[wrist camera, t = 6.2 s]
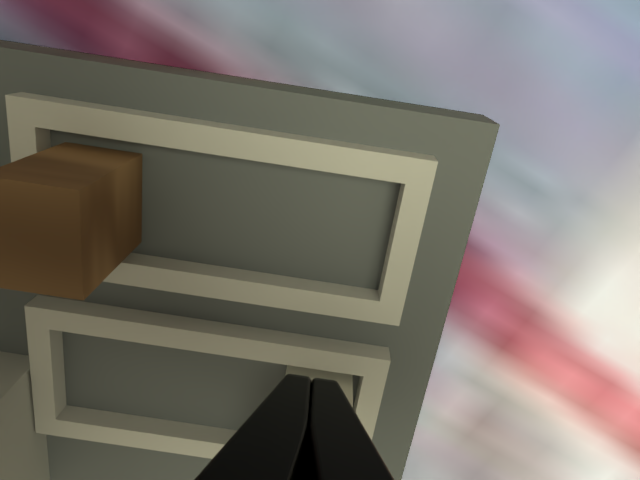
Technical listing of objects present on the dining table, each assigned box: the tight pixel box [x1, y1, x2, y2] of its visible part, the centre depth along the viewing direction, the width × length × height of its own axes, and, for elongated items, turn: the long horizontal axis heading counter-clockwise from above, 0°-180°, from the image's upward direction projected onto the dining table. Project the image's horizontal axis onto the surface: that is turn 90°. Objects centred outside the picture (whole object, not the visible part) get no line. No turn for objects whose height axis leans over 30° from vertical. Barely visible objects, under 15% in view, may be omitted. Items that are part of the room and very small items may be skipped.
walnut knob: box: [0, 142, 142, 301], centre depth 14 cm, size 3×2×4 cm
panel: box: [0, 40, 500, 480], centre depth 18 cm, size 18×21×5 cm
